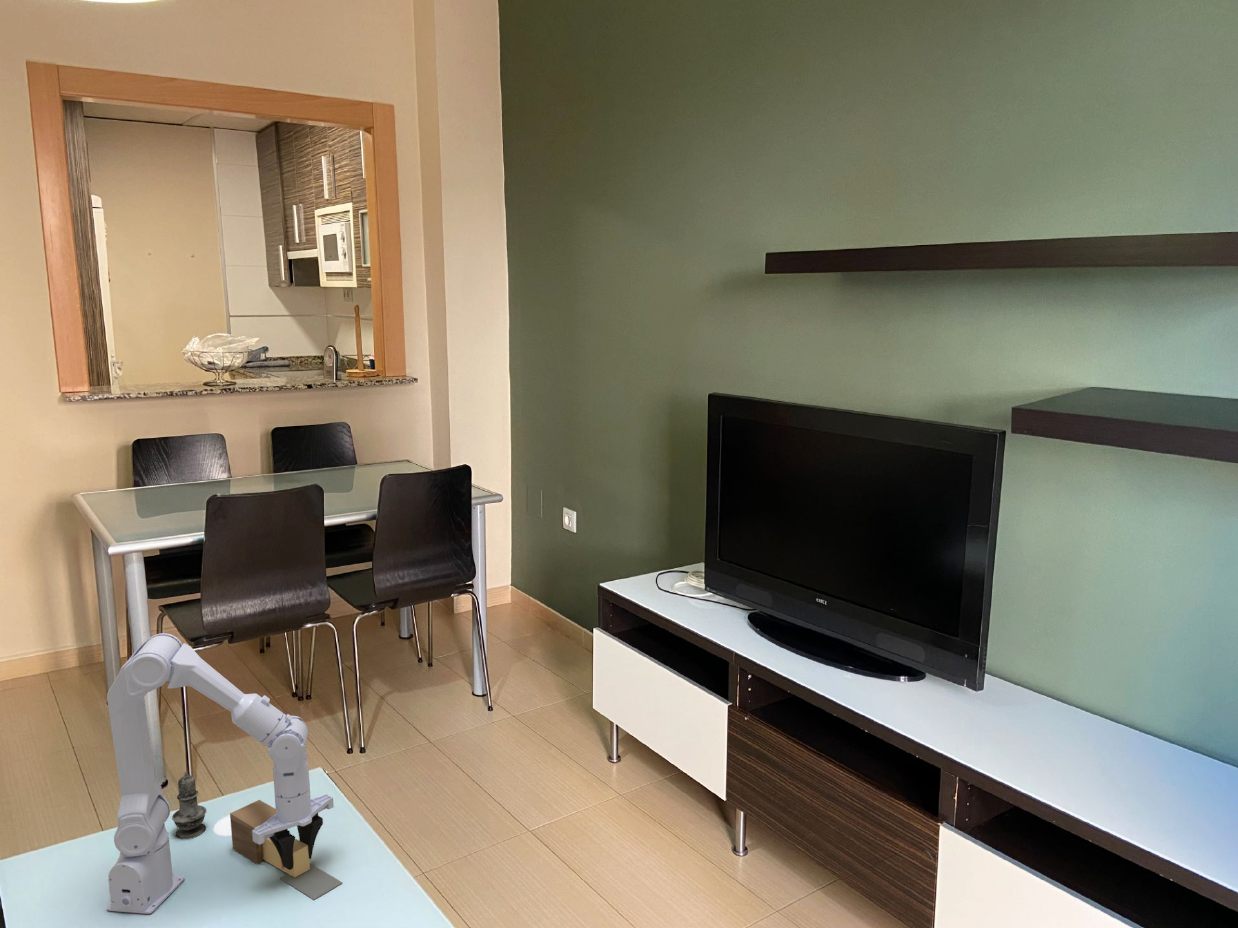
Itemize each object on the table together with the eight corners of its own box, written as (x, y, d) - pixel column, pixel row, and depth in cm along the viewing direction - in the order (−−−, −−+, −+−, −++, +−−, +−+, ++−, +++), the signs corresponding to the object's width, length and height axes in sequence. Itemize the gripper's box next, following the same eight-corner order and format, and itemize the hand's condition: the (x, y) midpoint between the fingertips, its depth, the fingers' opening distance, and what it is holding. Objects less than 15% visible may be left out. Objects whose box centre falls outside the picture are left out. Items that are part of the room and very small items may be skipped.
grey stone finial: (213, 830, 169) (208, 771, 167) (181, 843, 165) (175, 783, 163) (200, 818, 173) (195, 761, 171) (168, 831, 169) (163, 772, 167)
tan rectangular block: (294, 877, 154) (292, 853, 153) (255, 855, 161) (253, 832, 161) (310, 868, 156) (308, 844, 156) (271, 847, 164) (269, 824, 163)
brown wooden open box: (258, 865, 158) (255, 828, 157) (232, 848, 163) (229, 813, 162) (287, 849, 163) (285, 814, 162) (262, 834, 168) (259, 799, 167)
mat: (313, 900, 149) (313, 898, 149) (280, 878, 154) (280, 877, 154) (342, 883, 153) (342, 882, 153) (308, 862, 159) (308, 861, 159)
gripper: (266, 815, 146) (272, 891, 148) (342, 779, 157) (346, 850, 159) (243, 801, 150) (249, 876, 152) (318, 767, 161) (322, 836, 163)
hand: (297, 861), depth 156 cm, fingers closed on tan rectangular block, 3 cm apart
